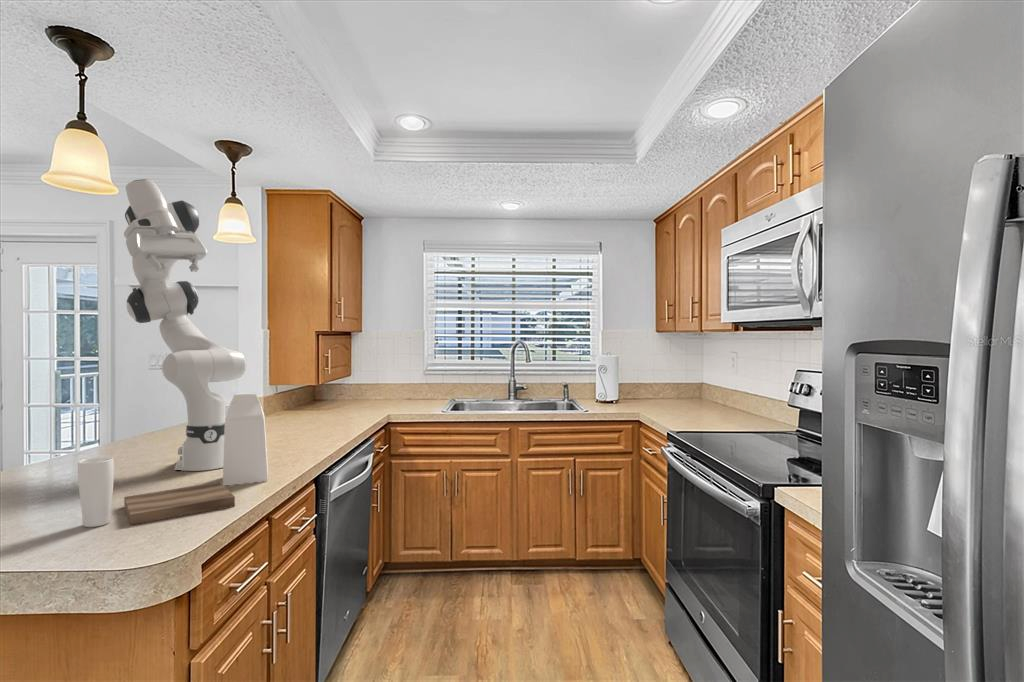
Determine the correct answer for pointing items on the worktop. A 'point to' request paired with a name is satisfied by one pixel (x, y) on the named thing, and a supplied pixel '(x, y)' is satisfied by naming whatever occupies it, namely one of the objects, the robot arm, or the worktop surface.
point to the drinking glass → (96, 490)
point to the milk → (245, 441)
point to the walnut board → (177, 502)
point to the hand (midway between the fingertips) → (178, 270)
